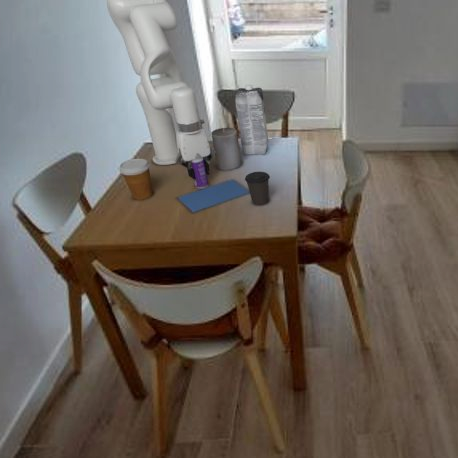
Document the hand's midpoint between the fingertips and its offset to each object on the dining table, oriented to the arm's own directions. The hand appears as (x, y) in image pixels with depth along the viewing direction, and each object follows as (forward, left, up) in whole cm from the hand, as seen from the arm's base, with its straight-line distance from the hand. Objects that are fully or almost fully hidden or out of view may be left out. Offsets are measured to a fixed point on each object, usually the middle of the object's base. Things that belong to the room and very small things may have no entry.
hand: (199, 175), depth 153 cm
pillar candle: (-10, +16, -4) cm, 19 cm away
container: (0, 0, -4) cm, 4 cm away
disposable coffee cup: (-7, -19, -4) cm, 21 cm away
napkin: (+10, 0, -4) cm, 11 cm away
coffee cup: (+24, +10, -4) cm, 27 cm away
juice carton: (-15, +31, -4) cm, 35 cm away
